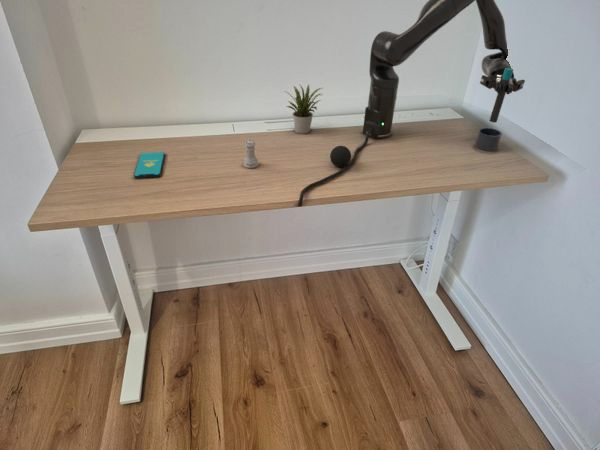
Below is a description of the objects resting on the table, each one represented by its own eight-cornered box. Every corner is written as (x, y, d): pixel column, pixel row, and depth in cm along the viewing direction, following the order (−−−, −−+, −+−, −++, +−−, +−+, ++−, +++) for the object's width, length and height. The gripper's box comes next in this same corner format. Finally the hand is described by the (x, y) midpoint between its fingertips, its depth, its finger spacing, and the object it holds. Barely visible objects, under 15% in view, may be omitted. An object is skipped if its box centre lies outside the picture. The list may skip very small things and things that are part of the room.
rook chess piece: (257, 169, 127) (256, 144, 122) (242, 168, 127) (241, 144, 122) (259, 162, 130) (258, 138, 126) (244, 161, 130) (243, 137, 126)
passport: (164, 151, 133) (159, 174, 121) (164, 153, 133) (160, 176, 121) (140, 153, 132) (133, 176, 120) (141, 155, 132) (134, 178, 120)
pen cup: (488, 155, 138) (494, 138, 135) (470, 147, 142) (475, 130, 139) (500, 149, 142) (506, 133, 138) (482, 142, 146) (487, 126, 142)
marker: (494, 123, 135) (510, 70, 125) (487, 120, 136) (503, 68, 127) (498, 121, 136) (515, 69, 127) (491, 119, 138) (507, 67, 128)
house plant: (332, 129, 152) (336, 84, 143) (313, 142, 143) (315, 94, 133) (299, 120, 158) (300, 76, 149) (278, 132, 149) (278, 86, 139)
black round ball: (355, 144, 132) (348, 145, 123) (355, 164, 134) (349, 167, 124) (335, 145, 134) (327, 146, 125) (336, 165, 136) (328, 168, 126)
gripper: (481, 61, 141) (483, 75, 127) (526, 65, 137) (533, 80, 124) (475, 83, 145) (476, 99, 131) (518, 88, 142) (524, 105, 128)
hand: (504, 90), depth 128 cm, fingers closed on marker, 2 cm apart
